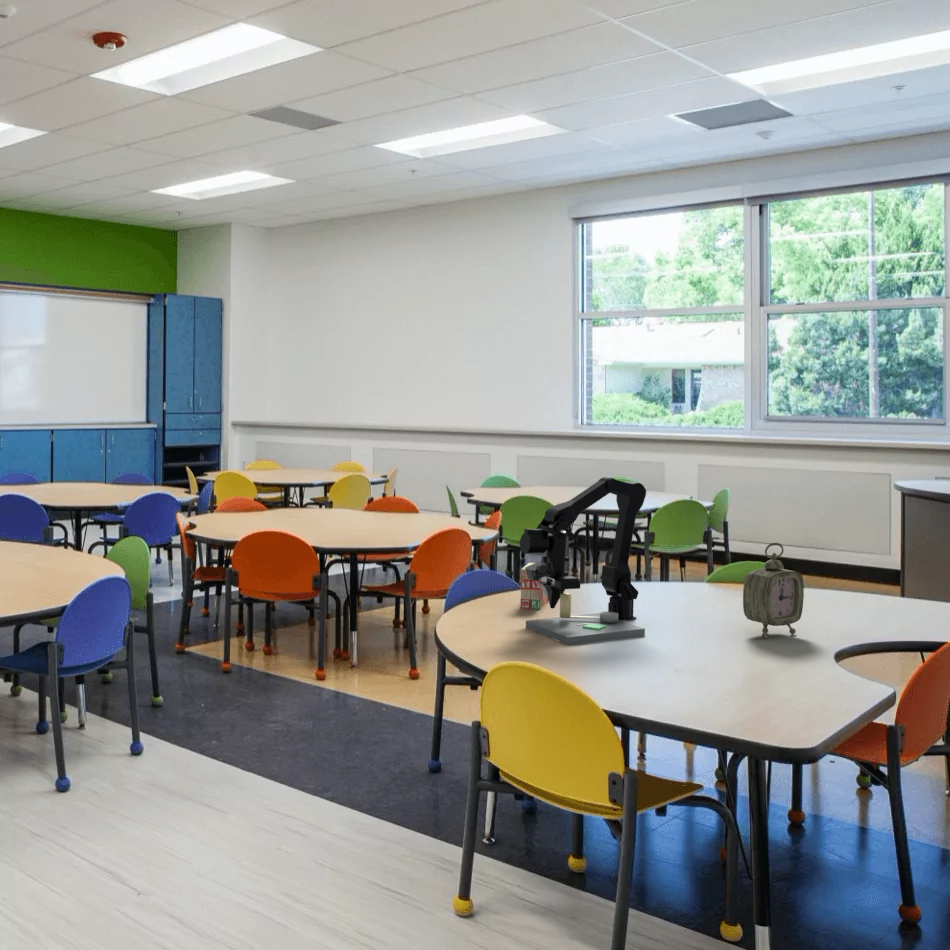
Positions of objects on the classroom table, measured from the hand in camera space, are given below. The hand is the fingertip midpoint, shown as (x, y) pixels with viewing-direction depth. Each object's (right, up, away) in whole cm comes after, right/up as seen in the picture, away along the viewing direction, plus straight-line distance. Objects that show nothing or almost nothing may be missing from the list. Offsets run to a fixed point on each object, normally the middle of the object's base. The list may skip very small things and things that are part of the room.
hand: (552, 608), depth 285 cm
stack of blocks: (-2, -3, +33) cm, 33 cm away
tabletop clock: (+58, -6, -9) cm, 59 cm away
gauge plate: (+8, -5, -8) cm, 12 cm away
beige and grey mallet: (+10, -3, -3) cm, 11 cm away
